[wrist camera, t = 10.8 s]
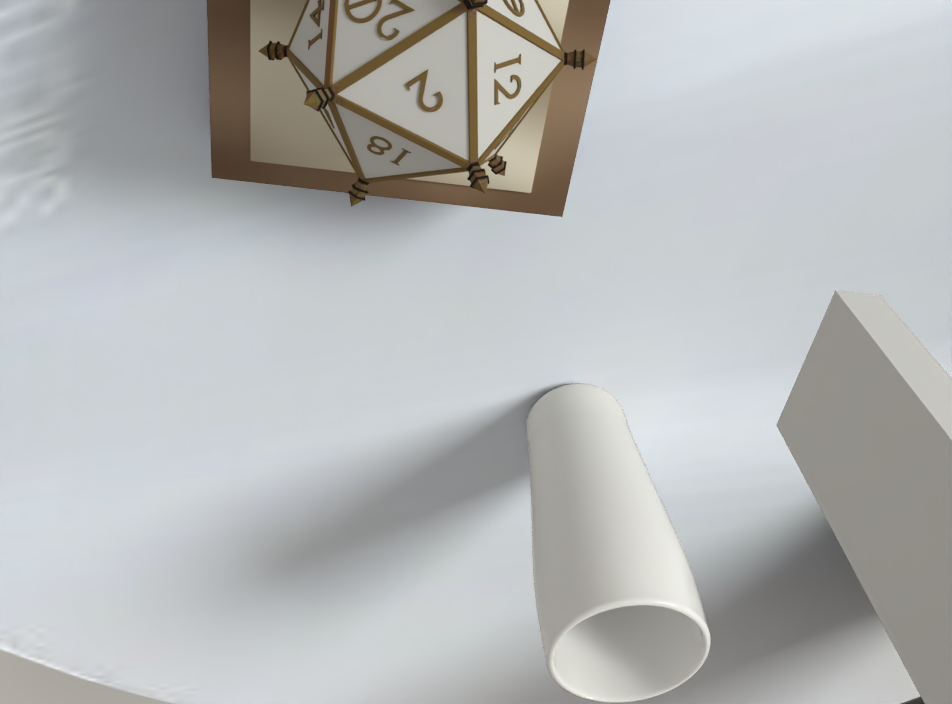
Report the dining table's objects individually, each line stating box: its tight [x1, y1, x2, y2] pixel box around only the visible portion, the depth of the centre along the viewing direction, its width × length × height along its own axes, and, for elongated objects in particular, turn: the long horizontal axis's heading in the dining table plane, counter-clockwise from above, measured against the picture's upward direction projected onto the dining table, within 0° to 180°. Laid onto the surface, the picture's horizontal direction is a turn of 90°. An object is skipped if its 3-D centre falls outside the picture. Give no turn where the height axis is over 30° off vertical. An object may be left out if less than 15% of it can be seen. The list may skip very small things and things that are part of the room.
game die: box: [259, 0, 597, 207], centre depth 25 cm, size 9×8×10 cm
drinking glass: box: [526, 383, 711, 703], centre depth 40 cm, size 7×7×15 cm
